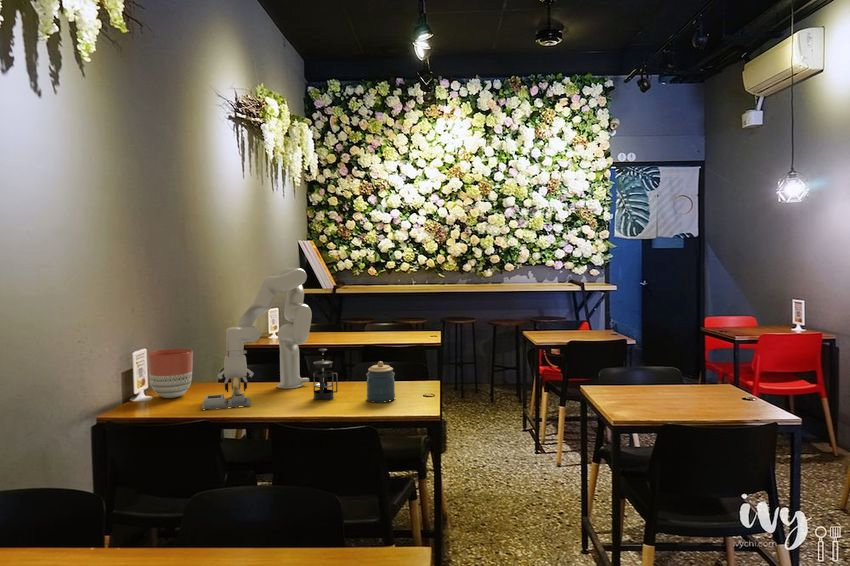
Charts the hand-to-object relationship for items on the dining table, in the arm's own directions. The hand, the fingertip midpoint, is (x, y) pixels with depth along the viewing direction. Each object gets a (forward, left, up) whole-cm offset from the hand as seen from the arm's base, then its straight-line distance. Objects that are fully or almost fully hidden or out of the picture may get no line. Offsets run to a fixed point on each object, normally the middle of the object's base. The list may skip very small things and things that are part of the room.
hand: (236, 390), depth 273 cm
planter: (+29, -10, -3) cm, 31 cm away
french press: (-39, +18, -3) cm, 43 cm away
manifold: (+4, +15, -3) cm, 16 cm away
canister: (-63, +29, -3) cm, 69 cm away
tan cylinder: (0, 0, -3) cm, 3 cm away
